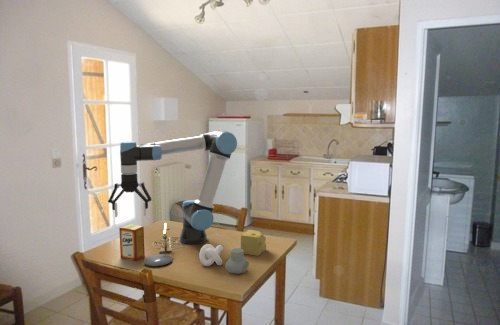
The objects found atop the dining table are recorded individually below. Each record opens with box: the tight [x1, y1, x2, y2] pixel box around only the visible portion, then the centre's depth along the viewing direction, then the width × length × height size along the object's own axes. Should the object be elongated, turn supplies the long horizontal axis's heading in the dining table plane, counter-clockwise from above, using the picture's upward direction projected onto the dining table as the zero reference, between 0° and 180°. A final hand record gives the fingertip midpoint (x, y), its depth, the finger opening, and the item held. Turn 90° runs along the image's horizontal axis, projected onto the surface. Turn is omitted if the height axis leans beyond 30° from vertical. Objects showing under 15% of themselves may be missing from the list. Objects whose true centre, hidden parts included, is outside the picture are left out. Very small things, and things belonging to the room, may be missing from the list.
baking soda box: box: [119, 223, 145, 262], centre depth 183 cm, size 10×6×16 cm
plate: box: [143, 253, 173, 267], centre depth 178 cm, size 13×13×1 cm
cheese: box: [240, 229, 267, 257], centre depth 191 cm, size 10×11×10 cm
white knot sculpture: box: [198, 243, 224, 267], centre depth 174 cm, size 11×12×9 cm
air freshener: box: [225, 247, 250, 275], centre depth 166 cm, size 11×8×10 cm
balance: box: [159, 222, 172, 254], centre depth 191 cm, size 6×14×14 cm, turn 11°
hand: (130, 215), depth 182 cm, fingers open, 13 cm apart
